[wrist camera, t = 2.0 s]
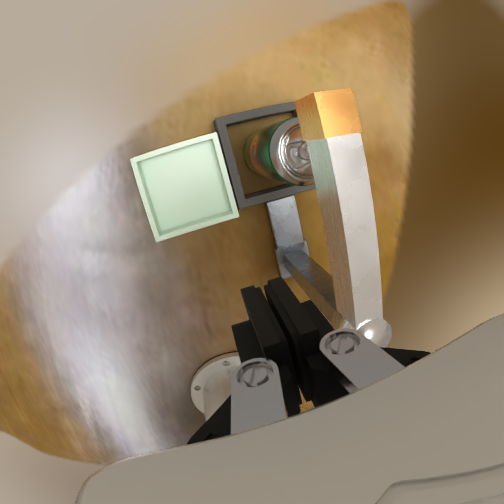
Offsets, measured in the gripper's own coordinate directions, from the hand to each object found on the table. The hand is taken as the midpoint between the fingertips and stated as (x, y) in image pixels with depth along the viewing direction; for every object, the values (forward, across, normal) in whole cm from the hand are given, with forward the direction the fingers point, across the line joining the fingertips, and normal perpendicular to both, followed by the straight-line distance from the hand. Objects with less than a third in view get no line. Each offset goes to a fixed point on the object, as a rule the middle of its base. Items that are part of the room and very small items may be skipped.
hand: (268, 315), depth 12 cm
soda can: (+22, -6, -5) cm, 23 cm away
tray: (+21, +3, -4) cm, 22 cm away
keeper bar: (+7, -6, 0) cm, 9 cm away
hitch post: (+21, -6, +4) cm, 23 cm away
